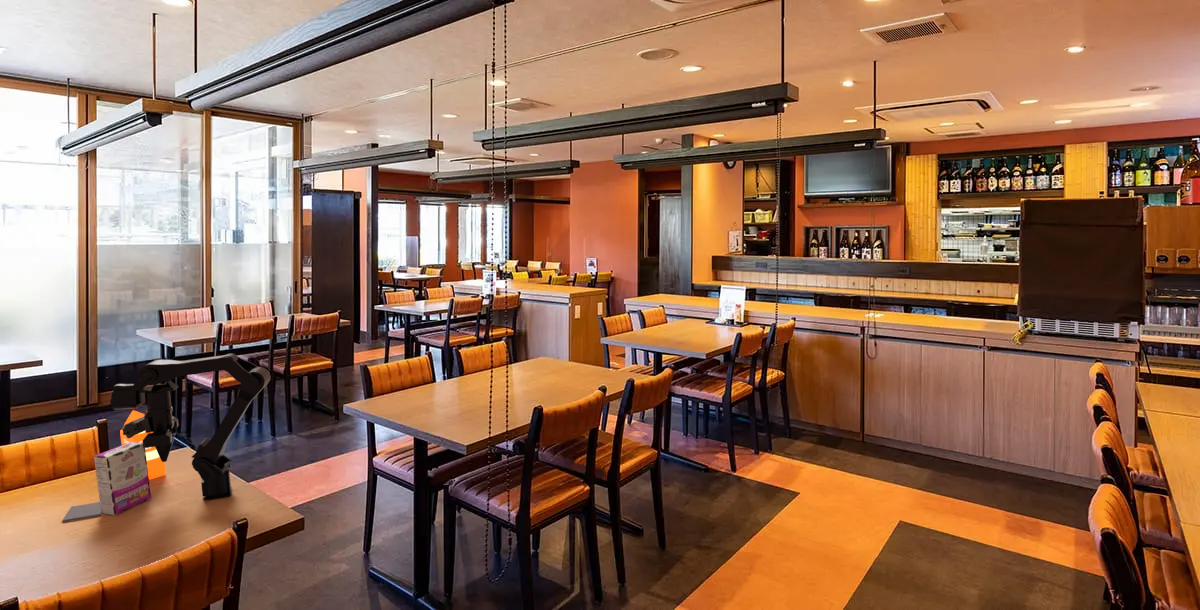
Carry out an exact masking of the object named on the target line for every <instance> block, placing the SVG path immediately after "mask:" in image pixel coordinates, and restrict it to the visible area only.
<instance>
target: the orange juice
mask: <svg viewBox="0 0 1200 610" xmlns="http://www.w3.org/2000/svg"><path fill="white" fill-rule="evenodd" d="M145 414H146V413H142V412H139V411H137V410H134V409H132V411H131V413H130V414H129V416H128V418H127V419H126V421H125V422H124V424H123V426H124V425H125V424H127V423H129V422H131V421H134V420H136V419H139V418H141V417H144V415H145ZM119 432H120V442H121V446H122V445H124V444H127V443H129V442H140V443H143V442H142V441H143V439H144V437H145V436H146V435H147V434H148V433H145V431H143V432H141V433H139V434H137V435H134V436H133V437H132V438H129V439H127V437H126V435H123V430H122V428H121V430H120V431H119ZM150 433H153V432H150ZM145 452H146V460H147V468H148V475H149V481H150V480H153V479H156V478H159V477H163V476H166V475H167V471H166V462H162V461H161V459H160V457H159V454H158V452H157V450H156V448H155V447H149V448H145Z"/></svg>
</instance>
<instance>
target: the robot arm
mask: <svg viewBox="0 0 1200 610" xmlns="http://www.w3.org/2000/svg"><path fill="white" fill-rule="evenodd" d="M219 371H225V372H226V373H228V374H229V375H230V376H231V377H232V378H233V379H234V380H235V381H237V382H238V383H240V384H239V387H238V390H237V395H236V398H235V400H234V401H233V403H232V404H231V406H230V408H229V409H228V411H227V412H226V414H225V416H224V418H223V420H222V421H221V422H220V424H219V425H218V428H216V431H215V433H213V436H212V437H211V439H209V438H208V437H206V438H204V440H203V441H202V442H201V443H200V444H198V446H197V449H196V451H195V453H194V454H192V455H191V458H192V461H191V465H192V468H193V470H194V471H195V472H197V473H198V475H199V477H200V478H201V492H202V493H201V495H202V497H204V498H203V500H204V501H210V500H216V499H221V498H228V497H231V496H232V491H233V487H232V484H231V483H232V482H231V473H230V468H231V466H232V462H233V461H232V459H230V458H229V457H228V456H226V455H224V454H225V451H226V447H227V443H228V441H229V439H230V437H231V436H232V434H233V432H234V431H235V429H236V427H237V426H238V424H239V423H240V421H241V419H242V418H243V416H244V414H245V413H246V411H247V409H248V408H249V406H250V404H252V401H253V400H254V399H255V398H256V397H257V396H258V395H259V394H260V392H262V390H263V389H264V388H265V387H266V386H267V385H268V384H269V383H270V381H271V377H272V376H271V374H270V371H268V369H266V368H265V367H263V366H258V365H256V364H255V363H253V362H251V361H248V360H247V359H243V358H241V357H239V355H237V354H235V353H227V354H224V355H217V356H209V357H202V358H194V359H193V358H192V359H187V360H174V359H155V360H153V361H151V362H148V363H146V364H145V365H143V366H141V368H140V369H139V373H138V375H139V377H138V378H137V380H136V381H135V382H134V383H116V384H115V385H113V386H112V388H113V390H112V392H111V397H110V399H109V403H110V406H111V408H112V410H117V411H119V410H130V409H132V410H134V409H140V408H141V407H142V406H143V405H145V409H146V411H145V413H144V414H145V415H144V417H141V418H139V419H136V420H134V421H131V422H129V423H127V424H125V423H124V424H125V425H124V424H123V426H122V428H121V429H122V430H123V435H126V437H127V439H129V438H132V437H133V436H134V435H137V434H139V433H141V432H143V431H145V433H148V434H147V435H146V436H145V437H144V439H143V441H142V442H143V448H149V447H155V448H156V450H157V452H158V454H159V457H160V459H161V461H162V462H165V463H166V462H167V461H168V457H169V455H170V452H171V449H172V446H173V443H174V440H175V436H176V434H177V432H176V431H171V430H173V428H175V429H177V428H178V427H179V425H180V423H179V419H178V418H177V417H175V416H173V411H174V408H173V406H172V401H171V399H172V398H171V392H173V391H175V390H176V389H178V388H179V385H178V384H176V383H174V382H173V381H172V380H173V379H177V378H180V377H185V376H193V375H200V374H205V373H212V372H219ZM165 382H166V383H165ZM148 386H152V387H148ZM150 432H153V433H150Z"/></svg>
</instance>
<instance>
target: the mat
mask: <svg viewBox="0 0 1200 610" xmlns="http://www.w3.org/2000/svg"><path fill="white" fill-rule="evenodd" d="M102 515H103V514H102V512H101V505H100V501H97V502H92V503H86V504H85V503H83V504H80V505H74V506H73V505H72V506H70V508H69V509H68V511H67V512H66V514H65V516H64V517H63V519H62V520H61V522H62V523H67V522H74V521H78V520H80V521H81V520H84V519H85V520H86V519H91V518H96V517H97V518H98V517H101V516H102Z"/></svg>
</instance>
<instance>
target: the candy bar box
mask: <svg viewBox="0 0 1200 610" xmlns="http://www.w3.org/2000/svg"><path fill="white" fill-rule="evenodd" d="M93 460H94V466H95V467H94V468H95V475H96V480H97V481H96V482H97V490H98V496H99V502H100V505H101V512H102V514H101V515H105V516H107V515H108V516H118V515H120V514H122V513H123V512H126V511H128V510H130V509H132V508H135V507H136V506H139V505H140V504H143V503H145V502H146V501H149V500H151V499H152V492H151V486H150V480H149V475H148V468H147V460H146V452H145V448H143V443H140V442H129V443H127V444H124V445H122V444H121V445H119V446H117V447H116V446H115V447H114V448H111V449H109V450H107V451H103V452H100V453H98V454H95V455H93Z"/></svg>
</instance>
